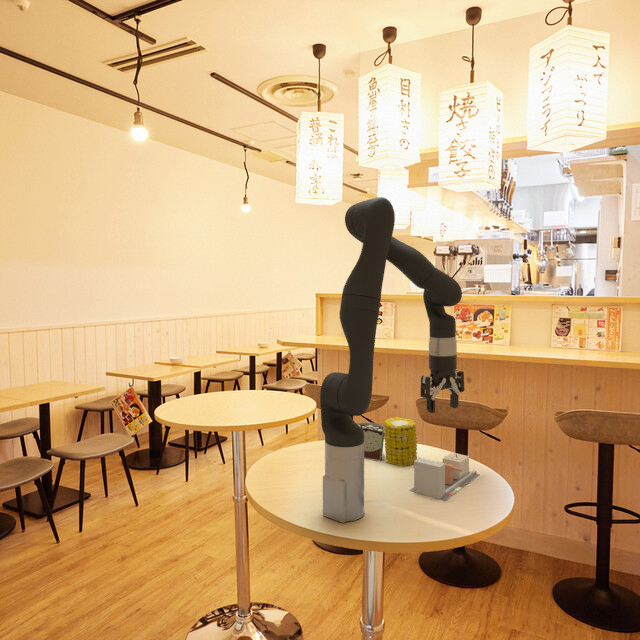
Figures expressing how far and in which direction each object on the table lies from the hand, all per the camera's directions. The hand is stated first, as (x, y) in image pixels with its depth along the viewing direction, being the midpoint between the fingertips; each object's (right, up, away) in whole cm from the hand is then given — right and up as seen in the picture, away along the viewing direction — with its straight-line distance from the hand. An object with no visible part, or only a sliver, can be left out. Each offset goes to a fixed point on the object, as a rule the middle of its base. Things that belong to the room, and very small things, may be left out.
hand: (442, 410), depth 137 cm
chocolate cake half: (-18, -19, +20) cm, 33 cm away
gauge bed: (-1, -20, -6) cm, 21 cm away
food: (-10, -19, +11) cm, 24 cm away
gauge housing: (+2, -18, -3) cm, 18 cm away
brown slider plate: (0, -18, -8) cm, 20 cm away
